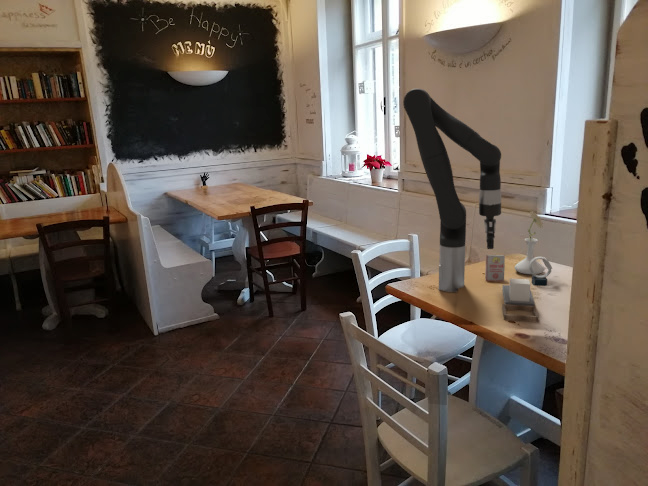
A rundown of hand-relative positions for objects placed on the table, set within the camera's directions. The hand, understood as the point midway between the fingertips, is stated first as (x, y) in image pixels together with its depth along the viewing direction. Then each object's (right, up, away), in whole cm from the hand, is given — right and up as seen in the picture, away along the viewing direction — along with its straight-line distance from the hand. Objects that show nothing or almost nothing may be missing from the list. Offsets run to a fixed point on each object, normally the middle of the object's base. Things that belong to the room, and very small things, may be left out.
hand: (489, 245), depth 185 cm
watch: (+21, -15, +8) cm, 27 cm away
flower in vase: (+24, -11, +23) cm, 35 cm away
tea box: (+7, -14, +16) cm, 22 cm away
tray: (+2, -23, -22) cm, 32 cm away
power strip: (+6, -20, -9) cm, 23 cm away
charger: (+5, -20, -14) cm, 25 cm away
